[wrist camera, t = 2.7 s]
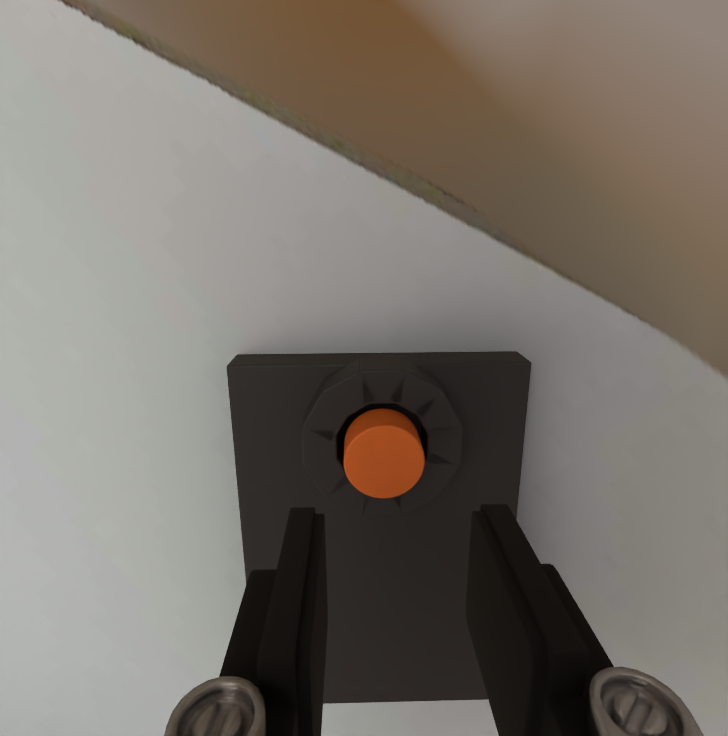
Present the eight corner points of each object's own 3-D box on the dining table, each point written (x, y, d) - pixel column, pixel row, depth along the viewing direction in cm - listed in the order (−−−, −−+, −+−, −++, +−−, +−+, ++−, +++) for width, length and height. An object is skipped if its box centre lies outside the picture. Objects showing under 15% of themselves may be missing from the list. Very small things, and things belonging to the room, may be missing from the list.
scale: (235, 347, 19) (212, 372, 16) (518, 344, 19) (550, 368, 16) (263, 674, 23) (249, 742, 20) (489, 668, 24) (510, 735, 20)
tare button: (343, 408, 16) (342, 426, 15) (419, 407, 16) (426, 425, 15) (345, 476, 17) (344, 500, 16) (417, 475, 17) (423, 498, 16)
